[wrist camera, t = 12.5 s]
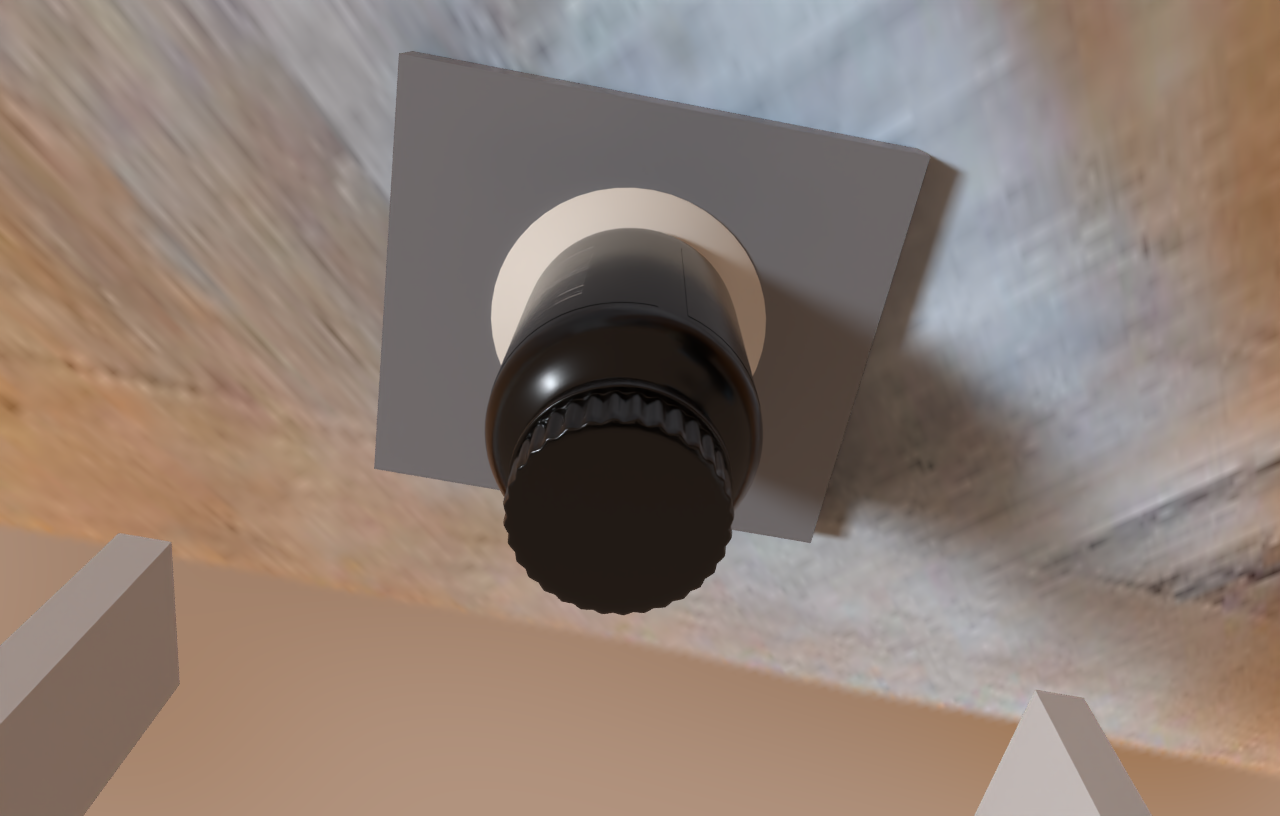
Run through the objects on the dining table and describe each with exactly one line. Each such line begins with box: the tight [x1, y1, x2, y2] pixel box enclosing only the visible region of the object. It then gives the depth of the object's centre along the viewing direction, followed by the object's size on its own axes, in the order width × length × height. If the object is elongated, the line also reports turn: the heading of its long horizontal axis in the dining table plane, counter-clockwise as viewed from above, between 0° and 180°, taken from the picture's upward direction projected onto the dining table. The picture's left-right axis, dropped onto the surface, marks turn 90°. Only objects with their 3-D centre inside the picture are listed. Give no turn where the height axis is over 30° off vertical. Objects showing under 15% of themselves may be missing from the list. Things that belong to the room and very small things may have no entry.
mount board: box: [374, 51, 931, 543], centre depth 29 cm, size 16×14×2 cm
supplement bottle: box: [484, 228, 763, 615], centre depth 23 cm, size 7×7×12 cm
